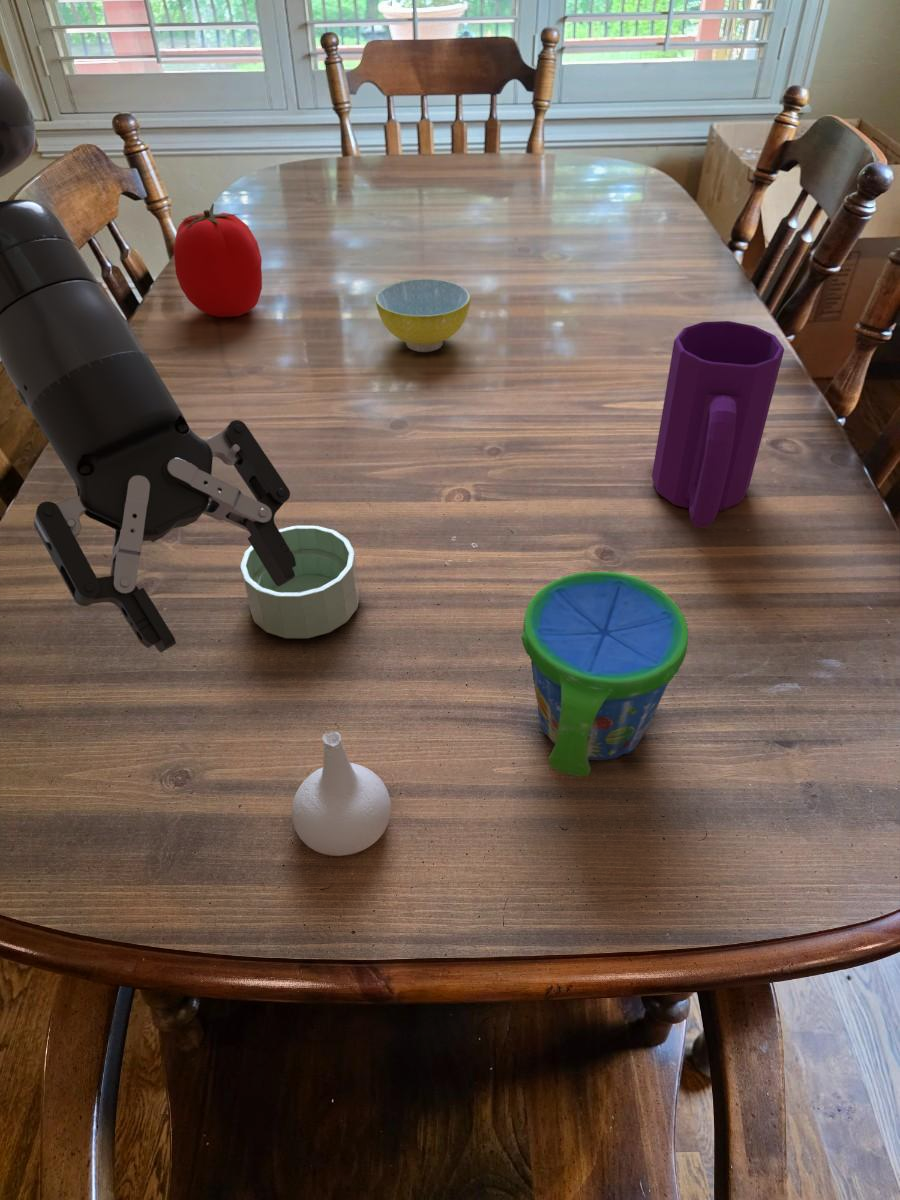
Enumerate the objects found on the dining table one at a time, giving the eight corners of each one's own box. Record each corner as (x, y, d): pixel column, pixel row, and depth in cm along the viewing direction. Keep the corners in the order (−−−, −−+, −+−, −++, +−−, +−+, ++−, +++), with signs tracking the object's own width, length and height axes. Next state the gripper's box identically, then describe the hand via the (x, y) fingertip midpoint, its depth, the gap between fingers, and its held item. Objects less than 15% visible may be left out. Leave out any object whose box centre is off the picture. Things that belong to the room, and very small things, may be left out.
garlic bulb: (301, 875, 54) (282, 799, 49) (290, 794, 59) (272, 716, 53) (400, 853, 55) (392, 777, 50) (382, 775, 60) (374, 697, 54)
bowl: (437, 317, 115) (436, 270, 111) (487, 349, 107) (488, 300, 103) (362, 339, 110) (358, 291, 106) (409, 374, 103) (407, 324, 99)
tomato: (236, 338, 111) (215, 232, 102) (164, 319, 116) (139, 216, 107) (291, 305, 118) (277, 203, 110) (222, 288, 123) (203, 190, 114)
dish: (293, 659, 68) (284, 612, 65) (230, 605, 73) (218, 559, 70) (381, 605, 73) (377, 559, 69) (316, 557, 77) (309, 511, 74)
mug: (746, 466, 87) (781, 323, 77) (751, 563, 76) (793, 410, 66) (653, 457, 89) (676, 315, 79) (644, 550, 77) (670, 399, 67)
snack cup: (627, 837, 56) (648, 735, 49) (479, 778, 59) (479, 675, 52) (692, 676, 66) (717, 574, 59) (562, 634, 70) (572, 533, 63)
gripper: (-31, 398, 45) (135, 665, 46) (206, 314, 52) (344, 547, 54) (-31, 447, 51) (115, 680, 53) (180, 367, 59) (303, 574, 60)
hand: (230, 613), depth 53 cm, fingers open, 8 cm apart
